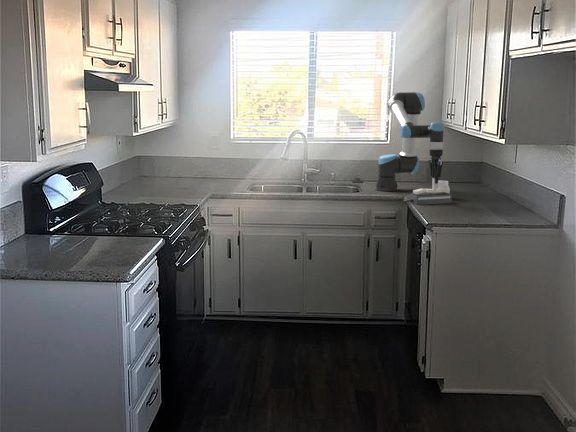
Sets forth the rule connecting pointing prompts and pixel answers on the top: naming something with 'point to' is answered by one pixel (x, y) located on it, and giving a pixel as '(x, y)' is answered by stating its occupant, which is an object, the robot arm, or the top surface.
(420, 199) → the power strip
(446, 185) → the mug
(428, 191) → the rocker
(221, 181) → the top surface
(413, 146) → the robot arm
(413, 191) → the rocker
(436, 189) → the rocker
